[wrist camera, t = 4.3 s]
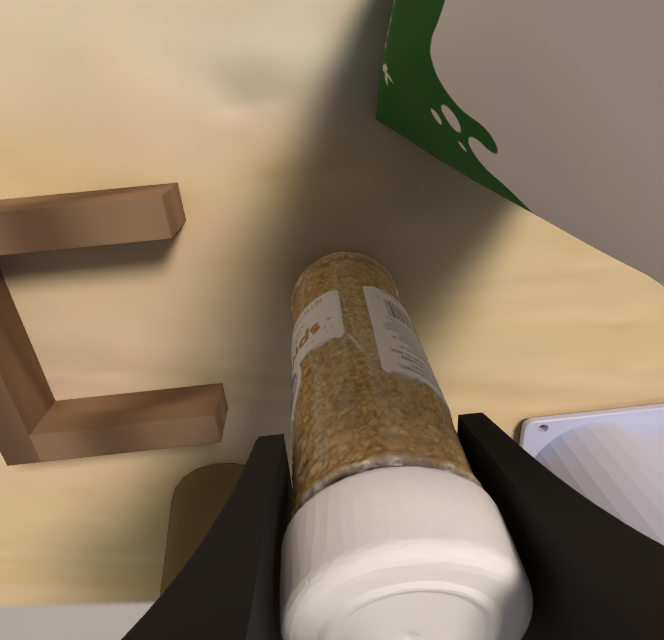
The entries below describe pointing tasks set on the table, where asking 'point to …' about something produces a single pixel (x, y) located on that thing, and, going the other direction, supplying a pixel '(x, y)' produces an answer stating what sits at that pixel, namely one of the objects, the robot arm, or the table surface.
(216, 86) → the table surface
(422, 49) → the milk carton
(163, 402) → the walnut holder
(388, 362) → the sprinkles bottle
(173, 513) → the olive bulb-ended cylinder
